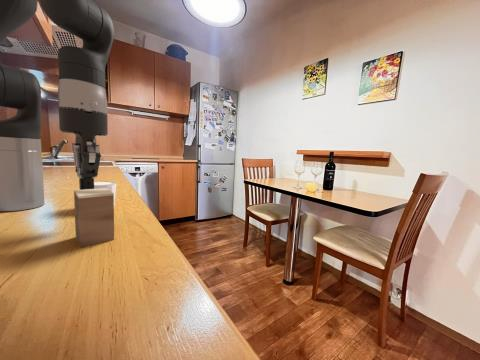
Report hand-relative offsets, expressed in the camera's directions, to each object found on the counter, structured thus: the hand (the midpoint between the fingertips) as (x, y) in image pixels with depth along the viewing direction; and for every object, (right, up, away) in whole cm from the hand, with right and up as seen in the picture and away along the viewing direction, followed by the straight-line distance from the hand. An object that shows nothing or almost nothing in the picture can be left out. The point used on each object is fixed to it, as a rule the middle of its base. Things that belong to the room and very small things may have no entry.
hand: (87, 196), depth 41 cm
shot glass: (-6, -5, +13) cm, 15 cm away
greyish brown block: (+5, -8, -4) cm, 10 cm away
